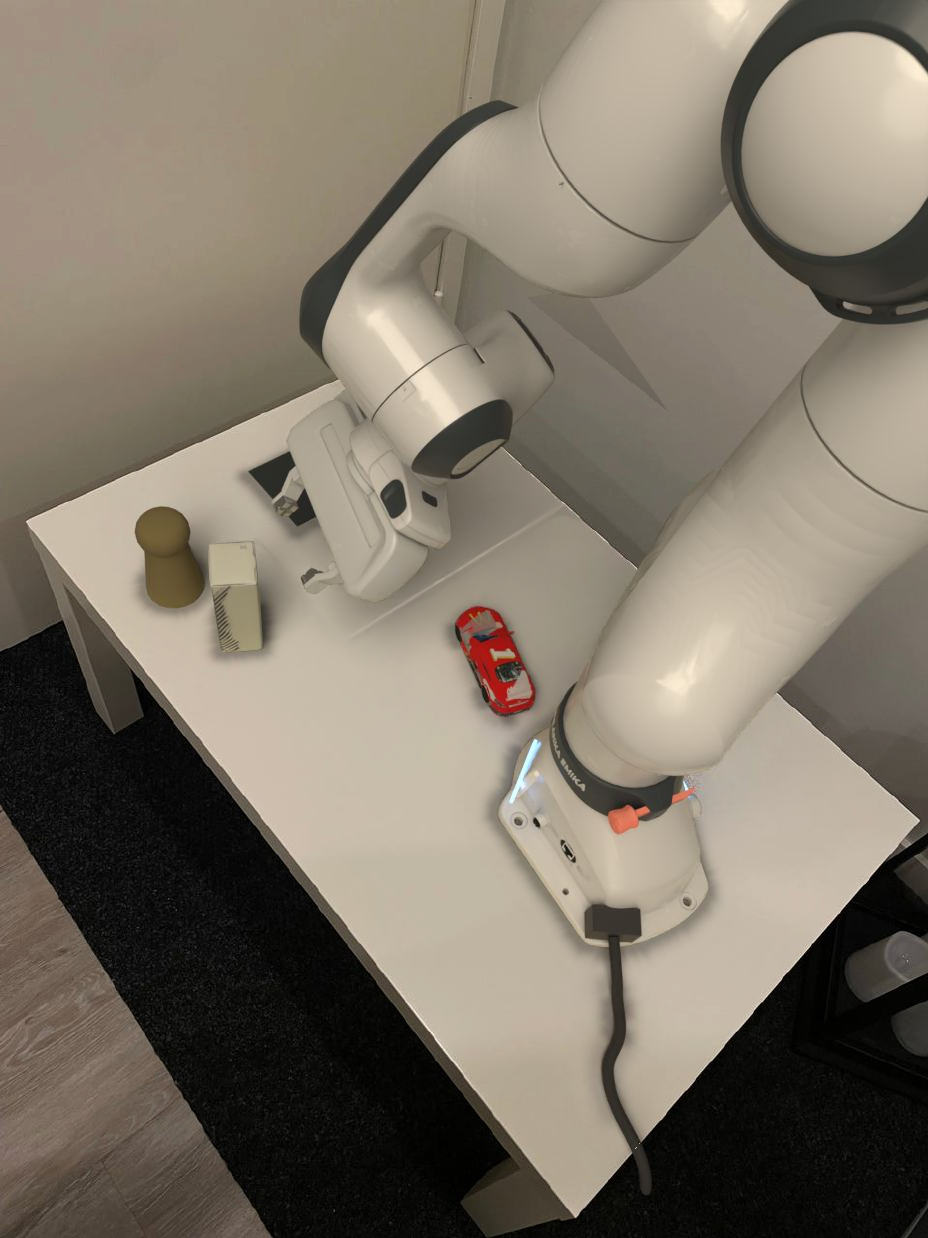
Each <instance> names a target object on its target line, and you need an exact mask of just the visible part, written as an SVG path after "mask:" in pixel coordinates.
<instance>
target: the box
mask: <svg viewBox="0 0 928 1238" xmlns="http://www.w3.org/2000/svg"><path fill="white" fill-rule="evenodd" d="M208 575H209V586H210V591H211V597H212V602H213V608H214V609H213V610H214V615H215V622H216V628H217V633H218V642H219V646H220V647H219V648H220V651H221V653H236V652H237V653H238V652H239V653H240V652H249V651H258V650H262V649H263V648H264V642H263V624H262V621H263V620H262V608H261V596H260V582H259V571H258V561H257V552H256V543H255V541H254V540H242V541H226V542H212V543H209V544H208Z"/></svg>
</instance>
